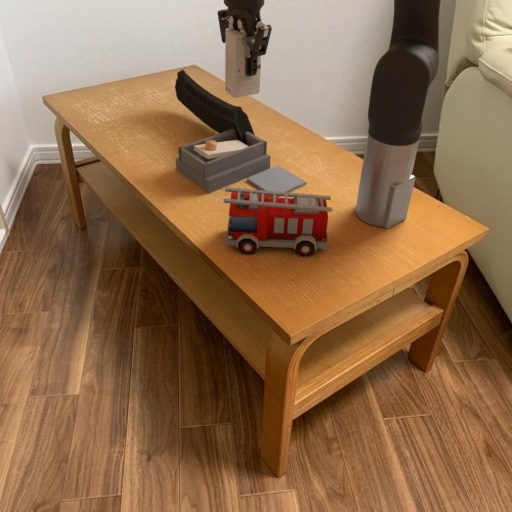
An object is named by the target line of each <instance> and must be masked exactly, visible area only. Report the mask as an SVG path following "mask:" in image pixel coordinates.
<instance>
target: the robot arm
mask: <svg viewBox="0 0 512 512" xmlns="http://www.w3.org/2000/svg"><path fill="white" fill-rule="evenodd" d="M441 2H442V1H441V0H393V20H392V27H391V29H392V30H391V33H390V34H391V36H390V41H389V46H388V49H387V51H386V52H384V54H383V55H382V56H381V57H380V58H379V60H378V61H377V63H376V65H375V68H374V71H373V74H372V80H371V87H370V92H369V93H370V94H369V101H368V102H369V103H368V110H367V111H368V112H367V121H368V129H367V136H366V143H365V148H364V149H365V150H364V153H363V154H364V155H363V161H362V166H361V172H360V179H359V184H358V189H357V191H358V192H357V198H356V204H355V208H354V209H355V214H356V217H358V219H360V220H361V221H362V222H364V223H366V224H369V225H372V226H376V227H382V228H384V229H386V230H388V229H390V228H393V226H395V225H397V224H398V223H400V222H402V221H404V220H405V219H407V216H408V212H409V209H410V203H411V198H412V195H413V191H414V186H415V181H416V176H415V175H414V174H413V169H414V165H415V161H416V156H417V153H418V148H419V144H420V143H419V142H420V141H421V140H420V139H421V134H422V130H423V122H422V121H423V119H422V118H423V114H424V108H425V104H426V100H427V95H428V93H429V92H428V91H429V87H430V86H431V85H432V83H433V81H434V80H435V78H436V76H437V74H438V68H439V63H440V46H439V45H440V41H439V40H440V38H439V36H440V10H441V8H440V7H441ZM223 4H224V6H225V7H226V8H224V9H220V10H218V11H217V17H218V20H217V21H218V25H219V30H220V39H221V42H222V43H223V44H225V40H226V33H225V32H226V30H236V31H238V32H240V33H241V35H242V44H243V45H244V46H245V50H246V56H247V57H246V75H247V76H249V77H250V76H254V75H256V73H257V64H258V56H261V57H262V56H265V55H266V54H267V49H268V46H269V41H270V39H271V34H272V29H273V28H272V25H271V24H265V23H263V22H262V18H261V17H262V16H261V9H262V8H263V7H264V5H265V0H223ZM254 34H255V35H256V36H255V38H254V39H250V40H248V37H252V36H254ZM251 44H253V50H251ZM260 46H261V49H259V48H260Z"/></svg>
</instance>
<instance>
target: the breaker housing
mask: <svg viewBox="0 0 512 512" xmlns="http://www.w3.org/2000/svg"><path fill="white" fill-rule="evenodd" d="M245 135H246V141H247V146H249V147H246V148H243V149H241V150H238V151H235V152H233V153H230V154H227V155H225V156H222V157H217V158H211V159H207V158H205V157H204V156H202V155H201V154H199V153H197V152H196V151H194V146H195V145H202V144H205V143H206V140H214V141H216V142H224V141H232V140H237V136H236V132H235V130H234V129H231V130H228V131H225V132H222V133H216V134H214V135H210V136H207V137H205V138H203V139H202V138H201V139H199V140H197V141H194V142H191V143H187V144H185V145H182V146H179V147H178V150H177V151H178V157H176V158H174V160H175V169H176V170H175V171H176V172H178V173H179V174H181V175H182V176H184V178H186V179H188V181H190V182H192V183H193V184H194V185H196V186H197V187H199V188H200V189H202V190H203V191H205V193H207V194H210V193H211V194H212V193H213V192H215V191H218V190H221V189H223V188H225V187H228V186H230V185H233V184H235V183H237V182H240V181H242V180H243V181H244V180H245V179H247V178H249V177H251V176H254V175H256V174H259V173H261V172H264V171H266V170H268V169H271V160H272V159H271V157H272V156H271V155H270V154H268V153H267V152H268V151H267V146H268V145H267V144H268V141H266V140H264V139H262V138H261V137H259V136H257V135H256V134H255V135H253V134H252V133H250V132H245Z"/></svg>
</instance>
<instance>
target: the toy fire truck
mask: <svg viewBox="0 0 512 512" xmlns="http://www.w3.org/2000/svg"><path fill="white" fill-rule="evenodd" d="M224 190H225V192H228V193H230V198H223V203H224V204H229V208H228V221H227V229H226V230H227V231H226V239H225V245H226V246H234V247H236V249H237V248H238V251H239V252H240V253H241V254H242V255H248V256H252V255H253V254H256V252H257V249H259V247H263V248H264V247H268V248H293V250H296V254H297V255H299V256H300V257H303V258H309V257H310V256H312V255H313V254H314V253H315V251H317V249H325V250H327V248H328V234H327V230H328V222H329V221H328V220H329V214H328V213H332V212H333V207H330V206H328V204H327V201H331V199H332V198H331V195H320V194H312V193H311V194H310V193H298V192H297V193H296V192H276V191H264V190H261V189H250V188H240V187H237V188H236V187H228V186H226V187H224ZM270 195H273V197H269V196H270ZM276 196H279V197H277V198H276Z"/></svg>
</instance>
